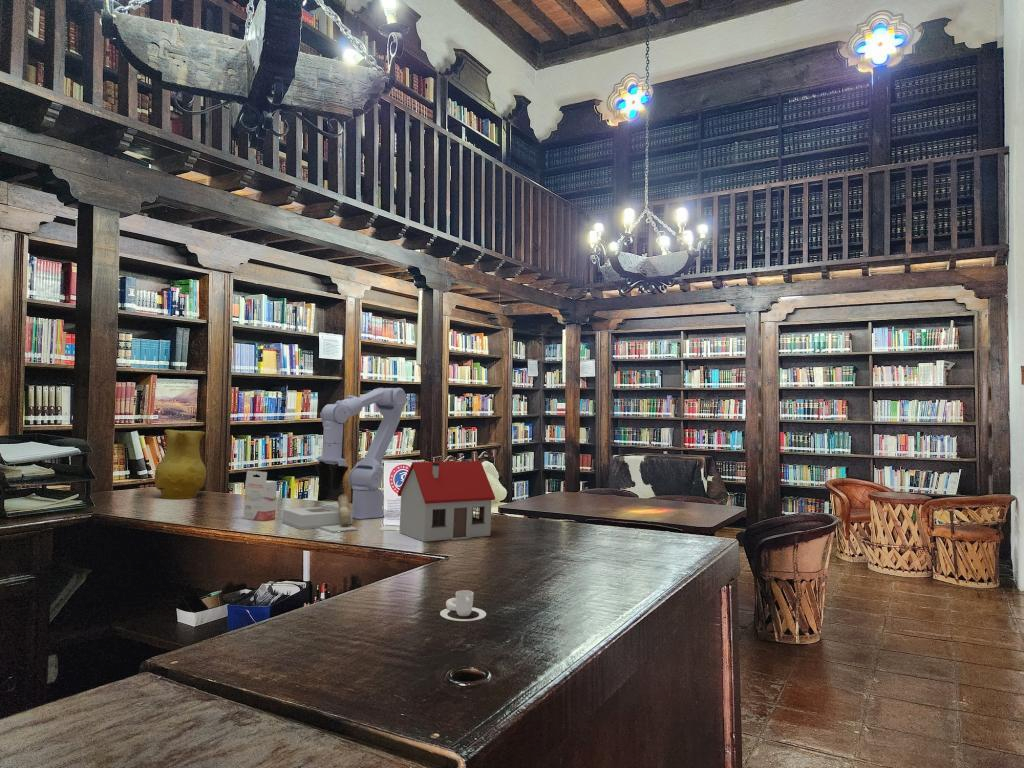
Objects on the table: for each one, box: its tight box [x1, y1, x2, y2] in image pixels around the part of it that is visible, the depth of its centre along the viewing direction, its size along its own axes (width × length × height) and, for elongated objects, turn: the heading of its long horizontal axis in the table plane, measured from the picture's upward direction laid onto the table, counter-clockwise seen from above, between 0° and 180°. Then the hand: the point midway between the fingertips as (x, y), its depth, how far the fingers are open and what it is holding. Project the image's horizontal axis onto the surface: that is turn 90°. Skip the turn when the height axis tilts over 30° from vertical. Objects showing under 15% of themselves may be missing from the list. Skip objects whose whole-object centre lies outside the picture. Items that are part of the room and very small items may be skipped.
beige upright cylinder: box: [337, 493, 351, 527], centre depth 193 cm, size 3×3×10 cm
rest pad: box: [320, 525, 359, 533], centre depth 188 cm, size 8×8×1 cm
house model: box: [397, 460, 496, 543], centre depth 187 cm, size 25×20×21 cm
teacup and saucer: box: [439, 589, 487, 622], centre depth 113 cm, size 9×8×4 cm
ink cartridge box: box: [243, 470, 278, 522], centre depth 201 cm, size 9×5×15 cm, turn 68°
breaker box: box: [281, 505, 353, 530], centre depth 196 cm, size 16×13×4 cm
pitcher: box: [153, 429, 207, 500], centre depth 244 cm, size 17×19×25 cm
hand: (329, 488), depth 199 cm, fingers open, 7 cm apart
